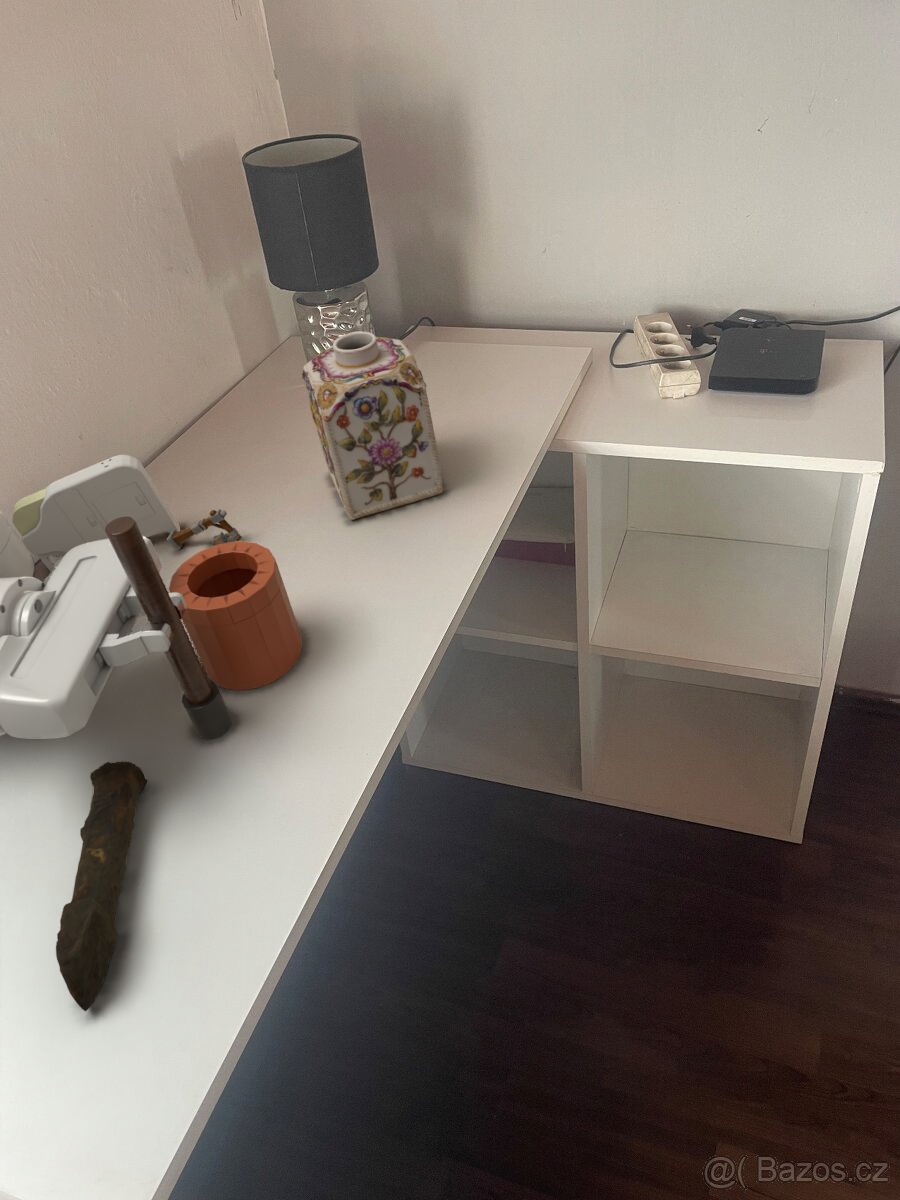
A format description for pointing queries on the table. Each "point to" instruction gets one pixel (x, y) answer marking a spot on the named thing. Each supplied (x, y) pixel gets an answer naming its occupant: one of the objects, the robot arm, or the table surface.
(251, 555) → the terracotta plant pot
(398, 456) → the decorative jar
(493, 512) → the table surface
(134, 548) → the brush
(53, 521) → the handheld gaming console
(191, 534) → the wooden post with brackets
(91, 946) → the hand tool
